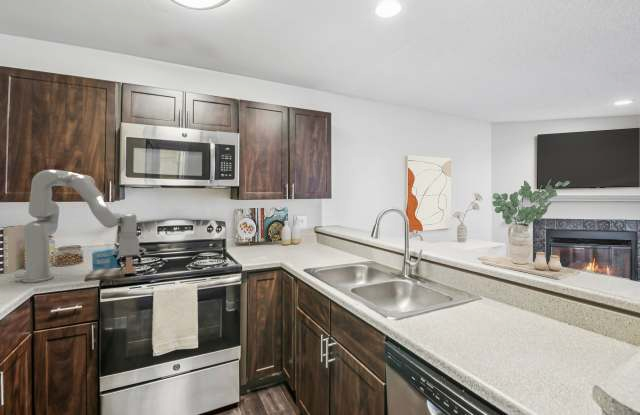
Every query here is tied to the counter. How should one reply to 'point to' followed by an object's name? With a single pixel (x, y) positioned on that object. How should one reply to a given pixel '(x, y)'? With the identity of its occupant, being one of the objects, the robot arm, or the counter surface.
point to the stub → (128, 266)
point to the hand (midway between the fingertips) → (129, 264)
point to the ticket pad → (104, 274)
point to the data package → (104, 259)
